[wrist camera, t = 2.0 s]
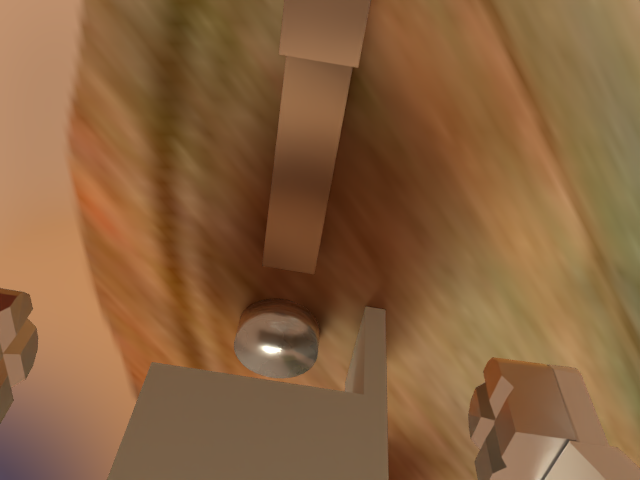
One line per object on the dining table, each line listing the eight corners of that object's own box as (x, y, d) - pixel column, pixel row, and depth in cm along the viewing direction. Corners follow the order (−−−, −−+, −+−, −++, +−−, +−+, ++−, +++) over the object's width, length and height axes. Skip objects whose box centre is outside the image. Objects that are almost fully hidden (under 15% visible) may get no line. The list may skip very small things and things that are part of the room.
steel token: (281, 284, 36) (276, 307, 34) (336, 332, 38) (334, 356, 36) (223, 321, 38) (216, 344, 37) (278, 364, 40) (274, 388, 39)
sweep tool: (306, -115, 23) (294, -96, 20) (384, -102, 23) (386, -80, 20) (265, 242, 34) (252, 297, 30) (319, 251, 34) (312, 307, 30)
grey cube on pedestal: (180, 274, 36) (64, 572, 22) (389, 307, 36) (397, 619, 23) (180, 359, 40) (82, 648, 27) (365, 387, 41) (361, 686, 27)
